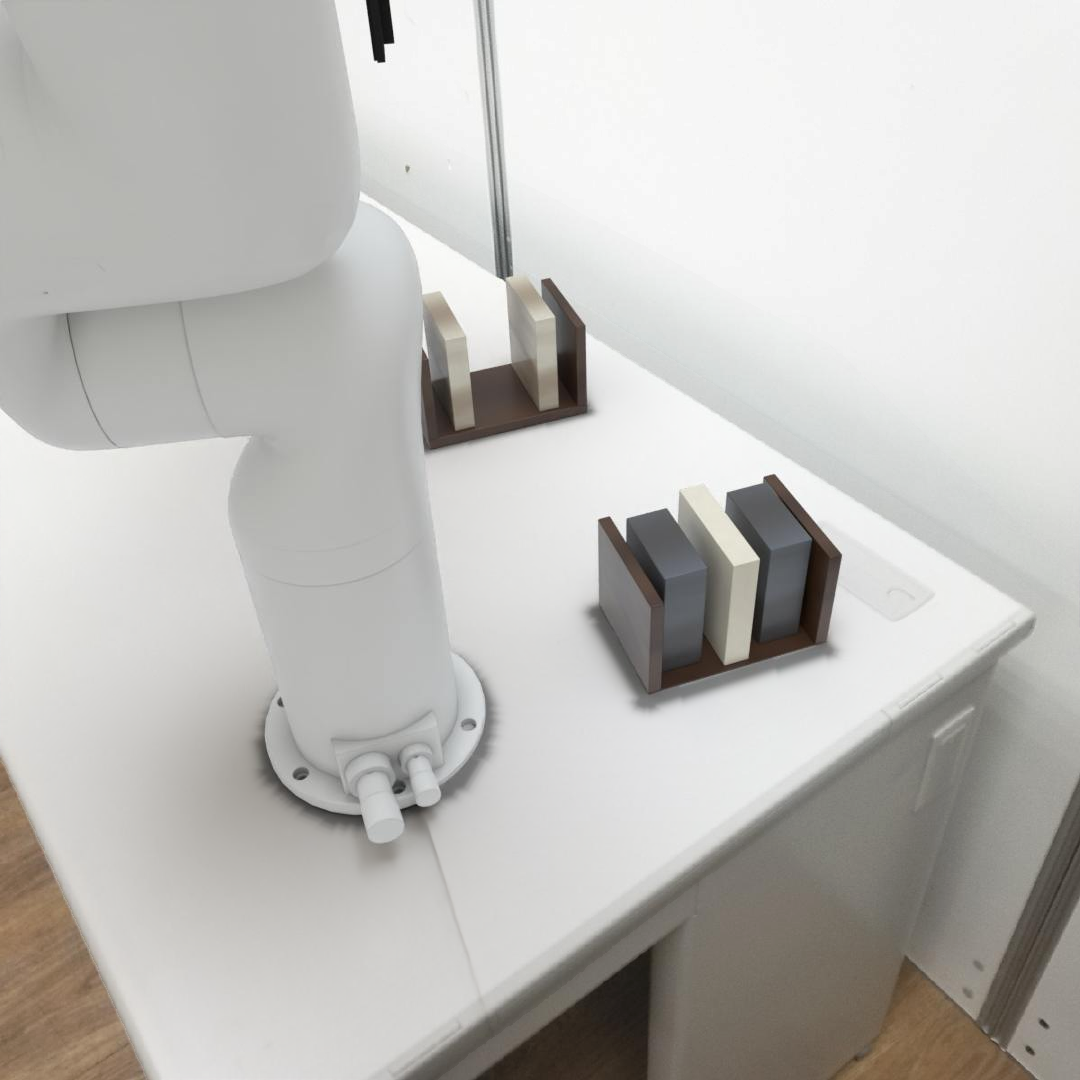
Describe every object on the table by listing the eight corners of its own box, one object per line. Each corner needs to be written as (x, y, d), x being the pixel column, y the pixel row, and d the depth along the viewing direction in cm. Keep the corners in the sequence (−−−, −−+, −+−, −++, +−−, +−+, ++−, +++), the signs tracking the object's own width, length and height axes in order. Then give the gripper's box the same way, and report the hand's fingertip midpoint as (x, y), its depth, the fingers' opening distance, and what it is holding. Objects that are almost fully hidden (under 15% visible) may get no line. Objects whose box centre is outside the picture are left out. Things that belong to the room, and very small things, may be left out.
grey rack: (825, 650, 67) (844, 546, 62) (648, 703, 65) (651, 599, 59) (763, 567, 73) (775, 465, 68) (598, 612, 71) (597, 510, 65)
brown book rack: (587, 412, 87) (585, 313, 82) (429, 449, 85) (416, 349, 79) (553, 361, 93) (549, 265, 87) (405, 395, 90) (390, 297, 84)
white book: (748, 659, 66) (760, 559, 61) (724, 666, 66) (733, 566, 60) (697, 581, 71) (703, 483, 66) (674, 587, 71) (678, 489, 66)
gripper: (68, -250, 56) (158, 94, 67) (409, -273, 58) (443, 70, 69) (95, -263, 62) (174, 57, 73) (404, -284, 63) (436, 34, 74)
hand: (304, 63), depth 71 cm, fingers open, 9 cm apart
